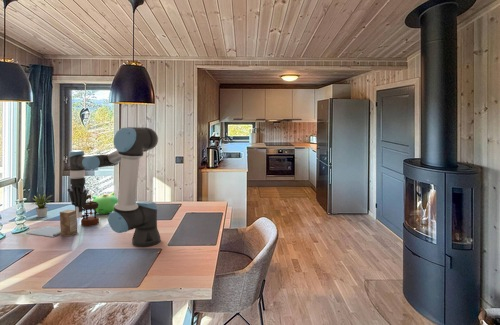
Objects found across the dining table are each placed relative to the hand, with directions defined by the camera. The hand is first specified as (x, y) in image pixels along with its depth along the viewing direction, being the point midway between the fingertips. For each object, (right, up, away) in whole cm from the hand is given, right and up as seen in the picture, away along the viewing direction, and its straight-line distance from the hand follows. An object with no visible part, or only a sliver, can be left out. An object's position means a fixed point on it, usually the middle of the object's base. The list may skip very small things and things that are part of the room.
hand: (79, 217), depth 179 cm
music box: (-5, -9, +23) cm, 25 cm away
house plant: (-45, -6, +35) cm, 57 cm away
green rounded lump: (-7, -6, +47) cm, 48 cm away
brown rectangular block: (-8, -11, +3) cm, 14 cm away
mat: (-20, -10, +6) cm, 23 cm away
